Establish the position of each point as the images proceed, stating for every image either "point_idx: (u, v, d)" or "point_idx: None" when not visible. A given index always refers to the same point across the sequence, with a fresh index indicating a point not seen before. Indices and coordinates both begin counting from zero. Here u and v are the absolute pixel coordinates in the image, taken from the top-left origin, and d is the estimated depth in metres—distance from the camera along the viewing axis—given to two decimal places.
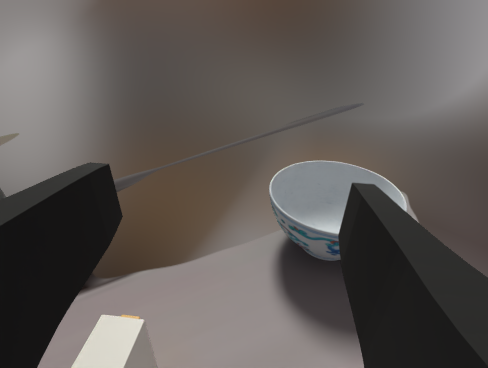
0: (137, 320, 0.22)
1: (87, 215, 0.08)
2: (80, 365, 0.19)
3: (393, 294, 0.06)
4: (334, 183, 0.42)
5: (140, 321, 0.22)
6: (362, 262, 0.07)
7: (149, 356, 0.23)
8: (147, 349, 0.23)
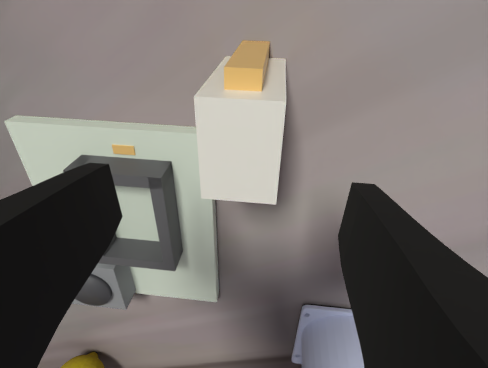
0: (271, 103, 0.10)
1: (87, 215, 0.08)
2: (212, 182, 0.13)
3: (393, 294, 0.06)
4: None
5: (278, 105, 0.10)
6: (362, 262, 0.07)
7: None
8: None
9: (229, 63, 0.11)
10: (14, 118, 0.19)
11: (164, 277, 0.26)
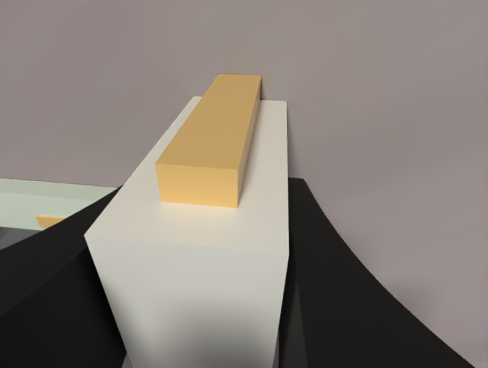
0: (256, 256, 0.05)
1: None
2: (149, 356, 0.07)
3: (289, 283, 0.06)
4: None
5: (272, 260, 0.05)
6: None
7: None
8: None
9: (172, 147, 0.06)
10: None
11: None
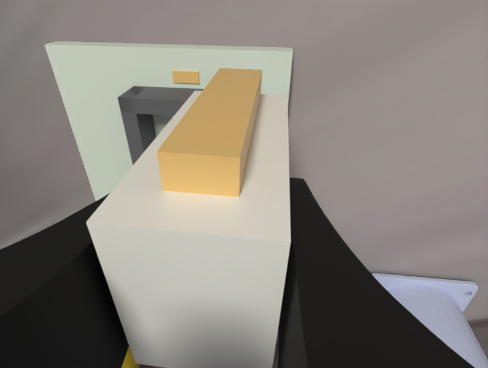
0: (258, 243, 0.05)
1: None
2: (150, 346, 0.07)
3: (288, 283, 0.06)
4: None
5: (274, 247, 0.05)
6: None
7: None
8: None
9: (174, 136, 0.06)
10: (55, 42, 0.16)
11: None
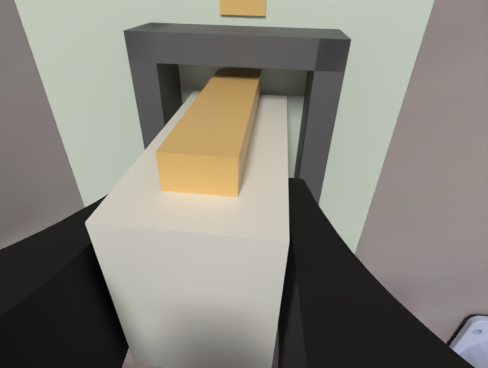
0: (256, 243, 0.05)
1: None
2: (149, 347, 0.07)
3: (288, 283, 0.06)
4: None
5: (272, 247, 0.05)
6: None
7: None
8: None
9: (172, 137, 0.06)
10: None
11: None
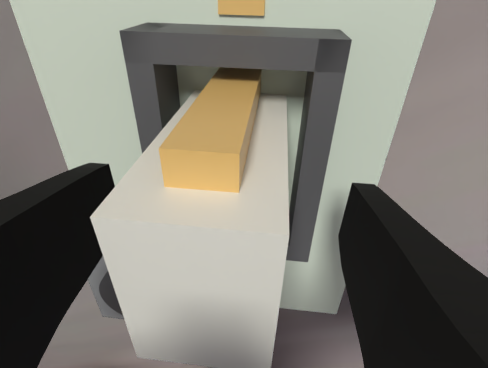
0: (257, 237, 0.05)
1: (87, 215, 0.08)
2: (152, 340, 0.07)
3: (393, 294, 0.06)
4: None
5: (272, 240, 0.05)
6: (362, 262, 0.07)
7: None
8: None
9: (175, 134, 0.06)
10: None
11: None
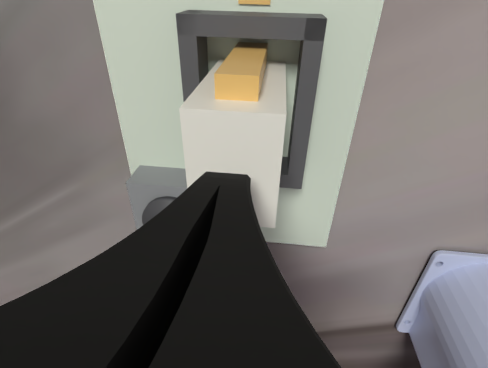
0: (269, 117, 0.09)
1: None
2: None
3: None
4: None
5: (277, 119, 0.09)
6: None
7: None
8: None
9: (221, 69, 0.10)
10: None
11: None
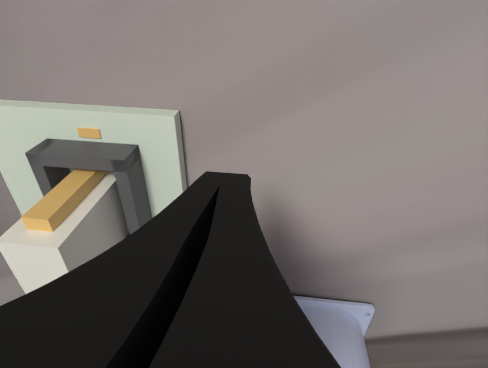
0: (49, 248, 0.14)
1: None
2: (31, 290, 0.17)
3: None
4: None
5: (54, 249, 0.14)
6: None
7: (100, 209, 0.18)
8: (91, 220, 0.17)
9: (31, 209, 0.15)
10: None
11: None
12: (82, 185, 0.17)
